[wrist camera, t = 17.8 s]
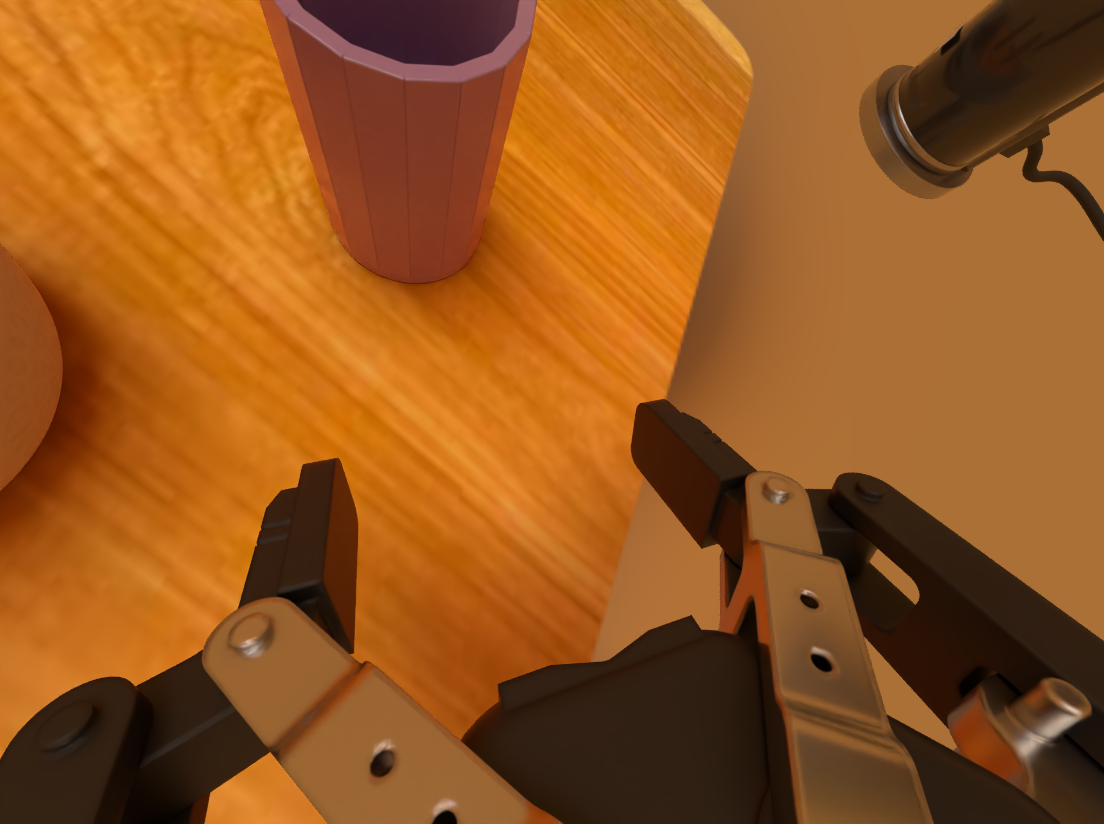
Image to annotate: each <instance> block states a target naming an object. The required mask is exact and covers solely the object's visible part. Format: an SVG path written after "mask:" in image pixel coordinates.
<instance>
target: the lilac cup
mask: <svg viewBox="0 0 1104 824" xmlns="http://www.w3.org/2000/svg"><path fill="white" fill-rule="evenodd" d="M260 3H261V7H262V10H263V13H264V16H265V19H266V22H267V25H268V28H269V31H270V34H271V38H272V41H273V44H274V47H275V50H276V53H277V56H278V59H279V62H280V66H281V69H282V72H283V75H284V78H285V81H286V84H287V87H288V90H289V94H290V97H291V100H292V103H293V106H294V109H295V112H296V115H297V118H298V122H299V125H300V128H301V131H302V134H303V137H304V140H305V143H306V146H307V150H308V153H309V156H310V159H311V162H312V165H313V168H314V171H315V174H316V178H317V181H318V184H319V187H320V190H321V193H322V196H323V199H324V202H325V205H326V209H327V212H328V215H329V218H330V221H331V224H332V226H333V228H334V230H335V232H336V234H337V236H338V239H339V240H340V242H341V243H342V245H343V246H344V248H345V249H346V250H347V251H348V252H349V254H350V255H351V256H352V257H353V258H354V259H355V260H357V261H358V262H359V263H360V264H362V265H363V266H364V267H366V268H367V269H369V270H371V271H372V272H374V273H376V274H378V275H381V276H383V277H385V278H388V279H392V280H395V281H400V282H405V283H427V282H433V281H437V280H440V279H443V278H446V277H448V276H450V275H452V274H454V273H455V272H457V271H458V270H460V269H461V268H462V267H463V266H464V265H466V263H467V262H468V261H469V260H470V259H471V257H472V256H473V254H474V253H475V251H476V248H477V246H478V244H479V242H480V239H481V235H482V231H483V227H484V223H485V219H486V215H487V211H488V207H489V203H490V199H491V195H492V191H493V187H494V183H495V179H496V175H497V171H498V167H499V163H500V159H501V155H502V151H503V147H504V143H505V139H506V135H507V131H508V127H509V123H510V119H511V115H512V111H513V107H514V103H515V99H516V95H517V91H518V87H519V83H520V79H521V76H522V72H523V68H524V64H525V60H526V56H527V52H528V48H529V44H530V40H531V35H532V29H533V23H534V17H535V11H536V4H537V0H260Z"/></svg>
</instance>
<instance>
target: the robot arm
mask: <svg viewBox="0 0 1104 824" xmlns="http://www.w3.org/2000/svg"><path fill="white" fill-rule="evenodd" d="M965 20H966V19H965ZM964 22H965V21H963V22H962V23H961V24H960V25H959V26H957V27H956V28H955V29H954V30H953V31H952V32H950V33H949V34H948V35H947V36H946V38H945V39H944V40H943V42H942V43H941V45H940V46H939V47H937V48H936V49H935V50H934V51H933V52H932V53H930V54H929V55H928V56H927V57H926V58H925V59H923V60H922V61H921V62H920V63H919V64H918V65H916V66H915V67H914V68H913V69H912V70H909V71H908V72H906V73H905V74H904V75H903V76H901V77H900V78H899V79H898V80H897V81H896V82H895V83H894V84H893V85H892V86H891V88H890V91H889V95H888V112H889V116H890V120H891V123H892V126H893V128H894V131H895V133H896V135H897V137H898V139H899V140H900V142H901V143H902V145H903V146H904V148H905V149H906V150H907V152H908V153H909V154H910V155H911V156H912V157H913V158H914V159H915V160H916V161H917V162H918V163H920V164H921V165H922V166H924V167H925V168H927V169H928V170H930V171H933V172H935V173H938V174H952V173H954V172H956V171H958V170H962V171H964V172H967V171H969V170H971V169H972V168H974V167H975V166H977V165H979V164H981V163H982V162H984V161H986V160H988V159H989V158H991V157H993V156H994V155H996V154H998V153H999V154H1001V155H1003V156H1005V157H1007V158H1009V157H1011V156H1012V155H1014V154H1016V153H1018V152H1020V151H1021V150H1023V149H1025V148H1028V155H1027V158H1026V161H1025V163H1024V166H1023V170H1022V171H1023V176H1024V178H1025V179H1027V180H1029V181H1031V182H1045V181H1052V182H1057V183H1060V184H1062V185H1063V186H1064V187H1065V188H1066V189H1068V190H1069V191H1070V192H1071V194H1072V195H1073V196H1074V197H1075V198H1076V199H1077V201H1078V202H1079V203H1080V205H1081V206H1082V208H1083V209H1084V211H1085V212H1086V214H1087V216H1088V217H1089V219H1090V221H1091V222H1092V224H1093V226H1094V227H1095V229H1096V230H1097V232H1098V234H1099V235H1100V236H1101V238H1102V240H1103V241H1104V213H1103V211H1102V210H1101V208H1100V207H1099V205H1098V204H1097V202H1096V200H1095V199H1094V197H1093V196H1092V195H1091V193H1090V192H1089V191H1088V190H1087V188H1086V187H1085V186H1084V185H1083V184H1082V183H1081V182H1080V181H1079V180H1077V179H1076V178H1075V177H1073V176H1072V175H1070V174H1068V173H1066V172H1062V171H1043V172H1042V171H1038V170H1037V165H1038V162H1039V160H1040V158H1041V155H1042V152H1043V144H1042V139H1043V138H1045V137H1046V136H1048V135H1050V132H1049V126H1048V124H1050V123H1051V122H1053V121H1055V120H1057V119H1058V118H1060V117H1062V116H1063V115H1065V114H1067V113H1068V112H1070V111H1072V110H1074V109H1075V108H1077V107H1079V106H1081V105H1082V104H1084V103H1086V102H1087V101H1089V100H1091V99H1093V98H1094V97H1096V96H1098V95H1099V94H1101V93H1103V92H1104V0H992V1H991V2H990V3H989V4H988V5H987V6H985V7H984V8H983V9H982V10H981V11H980V12H978V13H977V14H976V15H975V16H974V17H972V19H970V20H969V21H968V22H967V23H966V24H964V25H963V26H962V24H963V23H964ZM961 26H962V27H961ZM960 27H961V28H960ZM631 453H632V458H633V461H634V463H635V465H636V466H637V468H638V469H639V470H640V472H641V473H642V474H643V475H644V477H645V478H646V479H647V480H648V482H649V483H650V484H651V485H652V487H653V488H654V489H655V490H656V492H657V493H658V494H659V496H660V497H661V498H662V499H663V501H664V502H665V503H666V504H667V506H668V507H669V508H670V509H671V511H672V512H673V513H674V514H675V516H676V517H677V518H678V519H679V521H680V522H681V523H682V525H683V526H684V527H685V528H686V530H687V531H688V532H689V533H690V535H691V536H692V537H693V539H694V540H695V541H696V542H697V544H698V545H699V546H700V547H701V549H702V548H705V547H708V546H711V545H715V544H719V545H720V546H721V547H722V552H721V555H720V624H719V630H718V631H715V630H701V629H700V627H699V626H698V624H697V623H696V621H695V620H694V618H693V617H692V615H690V616H688V617H685V618H682V619H680V620H677V621H674V622H671V623H668V624H665V625H662V626H660V627H657V628H654V629H651V630H649V631H647V632H646V633H644V634H643V635H642V636H640V637H639V638H638V639H636V640H635V641H634V642H632V643H631V644H630V645H629V646H627V647H626V648H624V649H623V650H622V651H621V652H619V653H618V654H616V655H615V656H614V657H612V658H611V659H610V660H607V661H603V662H589V663H575V664H561V665H550V666H547V667H544V668H541V669H538V670H536V671H533V672H530V673H527V674H524V675H522V676H519V677H516V678H513V679H510V680H508V681H505V682H502V683H499V684H498V693H499V702H498V703H496V704H495V705H494V706H492V707H491V708H489V709H488V710H487V711H486V712H485V713H484V714H483V715H482V716H481V717H480V718H478V719H477V720H476V722H475V723H474V724H473V725H472V726H471V727H470V729H469V730H468V731H467V732H466V733H465V735H464V736H463V737H462V739H461V740H459V739H458V738H457V737H456V736H454V735H453V734H452V733H451V732H450V731H449V730H448V729H447V728H446V727H444V726H443V725H442V724H441V723H440V722H439V721H438V720H437V719H435V718H434V717H433V716H432V715H431V714H430V713H429V712H428V711H426V710H425V709H424V708H423V707H422V706H421V705H420V704H419V703H417V702H416V701H415V700H414V699H413V698H412V697H411V696H410V695H408V694H407V693H406V692H405V691H404V690H403V689H402V688H401V687H399V686H398V685H397V684H396V683H395V682H394V681H393V680H392V679H390V678H389V677H388V676H387V675H386V674H385V673H384V672H383V671H381V670H380V669H379V668H378V667H377V666H375V665H374V664H372V663H371V662H368V661H365V662H364V663H363V664H361V663H359V662H358V661H357V660H355V659H354V658H353V657H352V656H351V655H350V654H353V653H354V636H355V607H356V578H357V549H358V519H357V513H356V508H355V504H354V501H353V498H352V495H351V492H350V488H349V485H348V482H347V479H346V476H345V473H344V470H343V467H342V464H341V461H340V460H339V458H335V459H329V460H324V461H318V462H313V463H307V464H303V466H302V469H301V474H300V479H299V483H298V487H296V488H291V489H286V490H281V491H280V492H279V493H278V495H277V496H276V497H275V498H274V500H273V501H272V502H271V503H270V504H269V506H268V507H267V508H266V511H265V514H264V518H263V521H262V525H261V531H260V532H259V536H258V539H257V546H255V550H254V553H253V557H252V561H251V564H250V568H249V571H248V575H247V578H246V582H245V585H244V589H243V593H242V596H241V600H240V603H239V606H238V609H237V610H236V611H234V612H233V613H231V614H230V615H229V616H228V617H226V618H225V619H224V620H223V621H222V622H221V623H220V624H219V625H218V626H217V627H216V628H215V629H214V631H213V632H212V633H211V635H210V636H209V638H208V639H207V642H206V644H205V646H204V649H203V650H201V651H200V652H198V653H197V654H196V655H194V656H192V657H190V658H189V659H187V660H185V661H183V662H181V663H179V664H177V665H176V666H174V667H172V668H170V669H168V670H166V671H164V672H162V673H160V674H158V675H156V676H154V677H153V678H151V679H149V680H147V681H145V682H143V683H141V684H139V685H137V686H134V685H133V684H132V683H131V682H130V681H128V680H127V679H125V678H121V677H104V678H100V679H96V680H92V681H89V682H87V683H84V684H82V685H80V686H78V687H75V688H73V689H71V690H70V691H68V692H66V693H64V694H63V695H61V696H59V697H58V698H56V699H55V700H54V701H52V702H51V703H49V704H48V705H47V706H45V707H44V708H43V709H42V710H40V711H39V712H38V713H37V714H36V715H35V716H34V717H32V718H31V719H30V720H29V721H28V722H27V723H26V724H25V725H24V726H23V727H22V729H21V730H20V731H19V732H18V733H17V734H16V736H15V737H14V738H13V740H12V741H11V742H10V744H9V745H8V747H7V749H6V750H5V752H4V754H3V756H2V757H1V759H0V824H204V823H205V818H206V812H207V807H208V802H209V797H210V792H212V791H213V790H214V789H216V788H217V787H219V786H220V785H222V784H223V783H225V782H226V781H228V780H229V779H231V778H232V777H234V776H235V775H237V774H238V773H240V772H241V771H243V770H244V769H246V768H247V767H249V766H250V765H252V764H253V763H255V762H256V761H258V760H259V759H260V758H262V757H263V756H265V755H266V754H268V753H269V752H271V753H272V754H273V756H274V757H275V758H276V760H277V761H278V762H279V763H280V765H281V766H282V767H283V768H284V770H285V771H286V772H287V773H288V775H289V776H290V777H291V778H292V780H293V781H294V782H295V783H296V785H297V786H298V787H299V788H300V790H301V791H302V792H303V793H304V794H305V796H306V797H307V798H308V799H309V801H310V802H311V803H312V804H313V806H314V807H315V808H316V809H317V811H318V812H319V813H320V814H321V816H322V817H323V818H324V819H325V821H326V822H327V823H328V824H1104V641H1103V640H1102V639H1100V638H1099V637H1097V636H1096V635H1095V634H1093V633H1092V632H1091V631H1089V630H1088V629H1087V628H1085V627H1084V626H1082V625H1081V624H1080V623H1078V622H1077V621H1076V620H1074V619H1073V618H1071V617H1070V616H1069V615H1067V614H1066V613H1065V612H1063V611H1062V610H1061V609H1059V608H1058V607H1056V606H1055V605H1054V604H1052V603H1051V602H1049V601H1048V600H1047V599H1045V598H1044V597H1043V596H1041V595H1040V594H1038V593H1037V592H1036V591H1034V590H1033V589H1032V588H1030V587H1029V586H1027V585H1026V584H1025V583H1023V582H1022V581H1021V580H1019V579H1018V578H1017V577H1015V576H1014V575H1012V574H1011V573H1010V572H1008V571H1007V570H1006V569H1004V568H1003V567H1001V566H1000V565H999V564H997V563H995V562H994V561H993V560H992V559H990V558H989V557H988V556H986V555H985V554H984V553H982V552H981V551H979V550H978V549H977V548H975V547H974V546H973V545H971V544H970V543H969V542H967V541H966V540H964V539H963V538H962V537H960V536H958V534H956V533H955V532H953V531H952V530H950V529H949V528H948V527H947V526H945V525H944V524H942V523H941V522H939V521H938V520H937V519H935V518H934V517H933V516H931V515H930V514H929V513H927V512H926V511H925V510H923V509H922V508H920V507H919V506H918V505H916V504H915V503H914V502H912V501H911V500H909V499H908V498H907V497H905V496H904V495H903V494H901V493H900V492H898V491H897V490H896V489H894V488H893V487H892V486H890V485H889V484H887V483H885V482H883V481H882V480H880V479H877V478H875V477H872V476H869V475H865V474H861V473H844V474H841V475H839V476H838V477H837V479H836V481H835V483H834V485H833V487H832V489H804V488H803V487H802V486H801V485H800V484H799V483H797V482H796V481H795V480H793V479H791V478H789V477H787V476H785V475H782V474H780V473H776V472H771V471H757V470H756V469H754V468H753V467H752V466H751V465H750V464H749V463H748V462H747V461H745V460H744V459H743V458H742V457H741V456H740V455H739V454H737V453H736V452H735V451H734V450H733V449H732V448H731V447H729V446H728V445H727V444H726V443H725V442H722V440H721V439H720V438H719V437H718V436H717V435H716V434H715V433H712V431H711V430H710V429H709V428H708V427H707V426H706V425H704V424H703V423H702V422H701V421H700V420H698V419H696V418H694V417H692V416H690V415H687V414H686V413H684V412H683V413H681V412H679V411H678V410H677V409H676V408H675V407H674V406H673V405H671V403H670V402H668V401H667V400H665V399H661V400H656V401H650V402H645V403H640V404H639V405H638V406H637V409H636V414H635V421H634V428H633V435H632V443H631ZM877 549H879V550H880V551H881V552H882V553H884V554H885V555H886V556H887V557H888V558H889V559H890V560H892V561H893V562H894V563H895V564H896V565H897V566H898V567H900V568H901V569H902V570H903V571H904V572H905V573H906V574H908V575H909V576H910V577H911V578H912V580H913V581H914V582H915V583H916V585H917V587H918V590H919V593H920V598H919V601H918V602H917V604H916V605H915V604H914V603H913V602H912V601H910V600H909V598H907V597H906V596H905V595H904V594H903V593H902V592H901V591H900V590H899V589H898V588H897V587H895V586H894V585H893V584H892V583H891V582H890V581H889V580H888V579H887V578H886V577H885V576H884V575H883V574H882V573H880V572H879V571H878V570H877V569H876V568H875V567H874V566H873V565H872V564H871V563H870V562H869V561H870V560H871V558H872V557H873V555H874V553H875V552H876V550H877ZM864 637H865V638H866V639H867V640H868V641H869V642H870V643H871V644H872V645H873V647H875V649H876V650H877V651H878V652H879V653H880V654H881V655H882V656H883V657H884V659H885V660H886V661H887V662H888V663H889V664H890V665H891V666H892V667H893V669H894V670H895V671H896V672H897V673H898V674H899V675H900V676H901V677H902V678H903V680H904V681H905V682H906V683H907V684H908V685H909V686H910V687H911V688H912V689H913V691H914V692H915V693H916V694H917V695H918V696H919V697H920V698H921V699H922V700H923V702H924V703H925V704H926V705H927V706H928V707H929V708H930V709H931V710H932V711H933V713H934V714H935V715H936V716H937V717H938V718H939V719H940V720H941V721H942V722H943V724H944V725H945V726H946V727H947V728H948V729H949V731H950V734H951V736H952V738H953V740H954V742H955V743H956V745H957V747H956V748H955V749H954V750H951V749H949V748H947V747H945V746H944V745H942V744H940V743H938V742H936V741H934V740H932V739H931V738H929V737H927V736H925V735H923V734H922V733H920V732H918V731H916V730H914V729H913V728H911V727H909V726H907V725H905V724H903V723H901V722H900V721H898V720H896V719H894V718H892V717H890V716H889V715H887V714H886V711H885V708H884V704H883V701H882V697H881V694H880V691H879V687H878V684H877V681H876V677H875V674H874V670H873V667H872V663H871V660H870V657H869V653H868V650H867V646H866V643H865V640H864Z"/></svg>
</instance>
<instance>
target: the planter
mask: <svg viewBox="0 0 1104 824" xmlns="http://www.w3.org/2000/svg"><path fill="white" fill-rule="evenodd" d="M62 377H63V361H62V352H61V346H60V341H59V337H58V333H57V329H56V326H55V324H54V321H53V318H52V316H51V314H50V312H49V309H48V308H47V306H46V304H45V302H44V300H43V298H42V296H41V295H40V293H39V292H38V290H37V288H36V287H35V285H34V284H33V283H32V281H31V280H30V278H29V277H28V276H27V274H26V273H25V272H24V271H23V269H22V268H21V267H20V266H19V264H18V263H17V262H16V261H15V260H14V258H13V257H12V256H11V255H10V254H9V253H8V252H7V251H6V250H5V249H4V247H3V246H2V245H1V244H0V491H1V490H2V489H3V488H4V487H5V486H6V485H7V484H8V483H9V482H10V481H11V480H12V479H13V478H14V477H15V476H16V475H17V474H18V473H19V472H20V470H21V469H22V468H23V467H24V466H25V464H26V463H27V462H28V461H29V459H30V458H31V457H32V455H33V454H34V452H35V451H36V449H37V448H38V446H39V445H40V443H41V442H42V440H43V438H44V436H45V434H46V433H47V431H48V429H49V426H50V424H51V422H52V420H53V417H54V414H55V411H56V409H57V405H58V401H59V397H60V393H61V386H62Z"/></svg>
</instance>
